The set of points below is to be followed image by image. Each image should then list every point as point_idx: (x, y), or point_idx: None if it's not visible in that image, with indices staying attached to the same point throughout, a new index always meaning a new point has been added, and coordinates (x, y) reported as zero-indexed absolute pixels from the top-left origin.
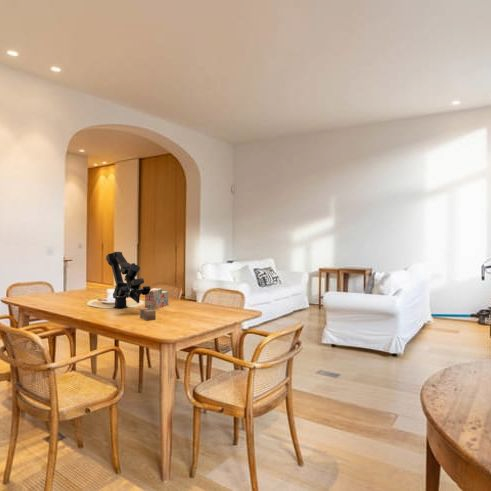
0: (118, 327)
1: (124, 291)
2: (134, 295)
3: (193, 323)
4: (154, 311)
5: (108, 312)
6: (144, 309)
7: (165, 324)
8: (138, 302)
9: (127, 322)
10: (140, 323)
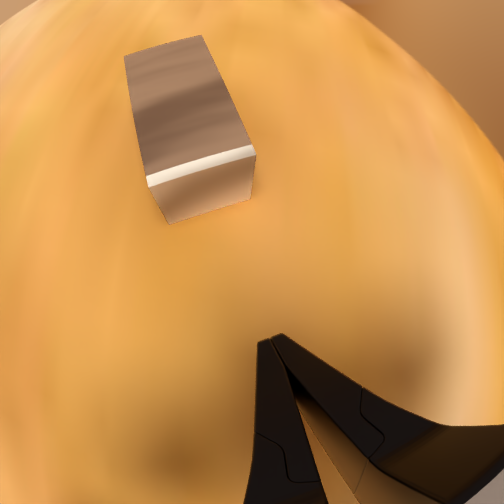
0: (363, 22)
1: None
2: (402, 412)
3: (24, 42)
4: (134, 56)
5: None
6: (206, 114)
7: (132, 18)
8: (272, 340)
9: (338, 77)
10: (257, 41)
